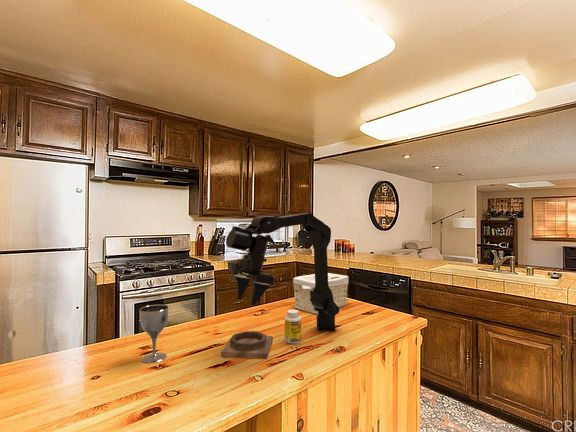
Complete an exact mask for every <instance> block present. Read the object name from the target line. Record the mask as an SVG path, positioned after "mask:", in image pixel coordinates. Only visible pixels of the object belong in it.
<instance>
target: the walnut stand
mask: <svg viewBox="0 0 576 432" xmlns="http://www.w3.org/2000/svg"><path fill="white" fill-rule="evenodd" d="M273 339H274V336H273V335H266V334H265V333H263V332H261V331H257V330H255V331H254V330H253V331H252V330H250V331H249V330H246V331H241V332H237V333H234V334H233V335H232V336H231V337H230V338H229V340H228V341H227V343H226V344H225V346H224V347H223V349H222V350H221V351H220V357H221V358H238V359H240V358H243V359H268V356H269V353H270V349H271V348H272V344H273V341H274V340H273Z"/></svg>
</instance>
